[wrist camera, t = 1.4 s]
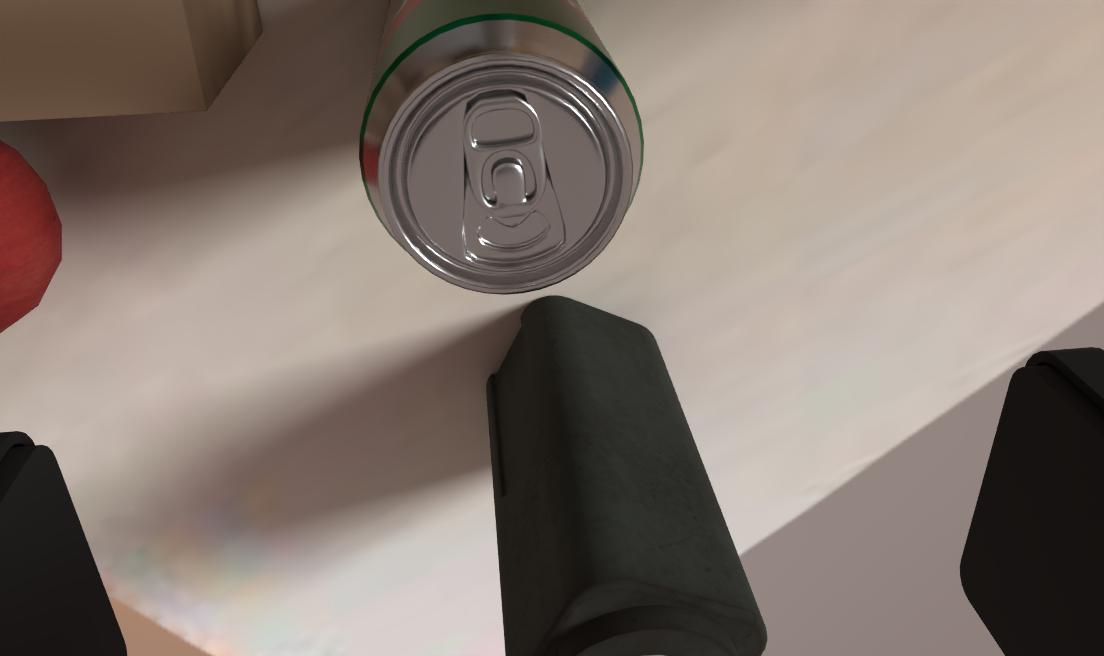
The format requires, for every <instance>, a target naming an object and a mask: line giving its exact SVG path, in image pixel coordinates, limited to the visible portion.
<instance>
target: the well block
mask: <svg viewBox="0 0 1104 656" xmlns="http://www.w3.org/2000/svg"><path fill="white" fill-rule="evenodd" d="M262 32H263V31H262V25H261V20H260V14H259V9H258V3H257V0H0V122H2V121H21V120H40V119H59V118H78V117H97V116H117V115H136V114H155V113H174V112H193V111H207V109H208V108H209V107H210V105H211V104H212V102H213V101H214V100H215V98H216V97H217V95H218V94H219V93H220V91H221V90H222V88H223V87H224V86H225V84H226V83H227V81H228V80H229V79H230V77H231V76H232V74H233V73H234V71H235V70H236V69H237V67H238V66H239V64H240V63H241V62H242V60H243V59H244V57H245V56H246V55H247V53H248V52H249V50H250V49H251V48H252V46H253V45H254V43H255V42H256V41H257V39H258V38H259V36H260V35H261V34H262Z"/></svg>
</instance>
